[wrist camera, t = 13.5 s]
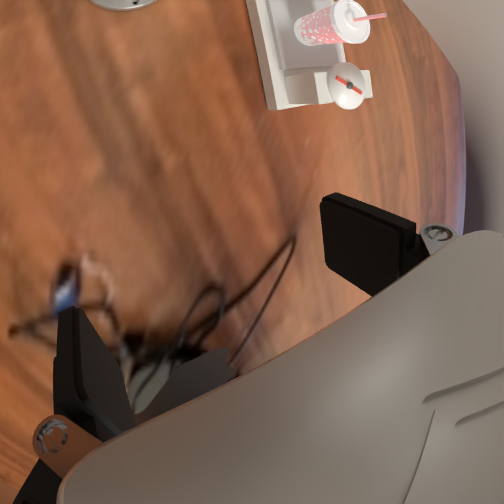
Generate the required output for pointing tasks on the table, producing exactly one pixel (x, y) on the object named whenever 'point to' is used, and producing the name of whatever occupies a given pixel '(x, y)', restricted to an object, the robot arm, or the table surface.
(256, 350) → the table surface
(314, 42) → the beverage cup
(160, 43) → the table surface
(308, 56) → the scale
